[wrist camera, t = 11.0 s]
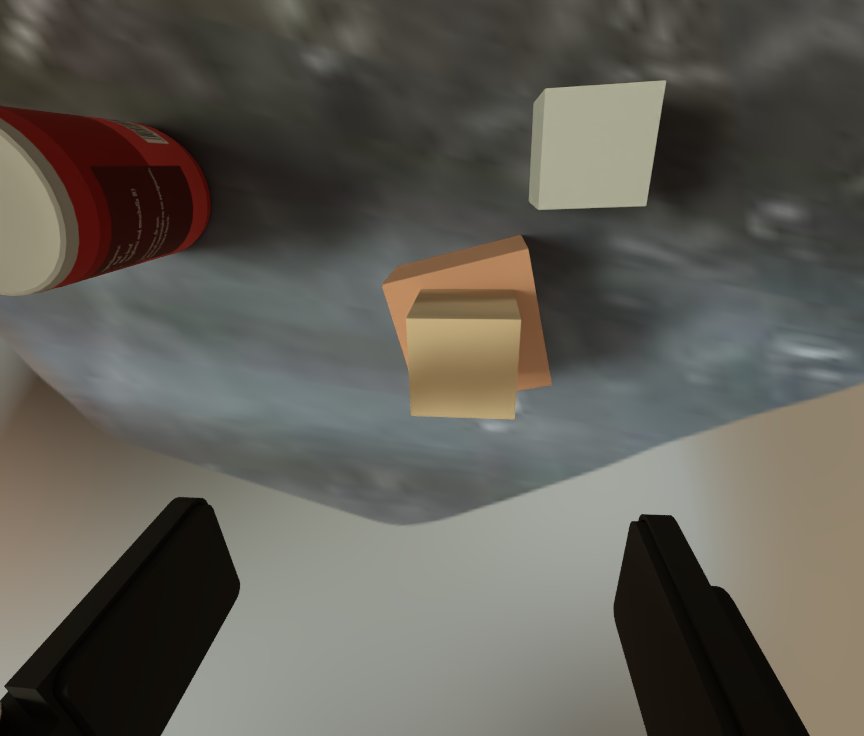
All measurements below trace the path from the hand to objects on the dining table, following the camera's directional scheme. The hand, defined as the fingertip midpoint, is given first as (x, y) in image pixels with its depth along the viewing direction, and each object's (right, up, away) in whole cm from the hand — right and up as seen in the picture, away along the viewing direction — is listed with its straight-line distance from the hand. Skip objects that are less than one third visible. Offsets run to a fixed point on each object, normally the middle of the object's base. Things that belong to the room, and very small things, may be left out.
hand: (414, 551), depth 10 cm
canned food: (-17, +16, +18) cm, 29 cm away
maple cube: (+2, +6, +14) cm, 16 cm away
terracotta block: (+3, +8, +19) cm, 21 cm away
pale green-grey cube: (+9, +16, +14) cm, 23 cm away
